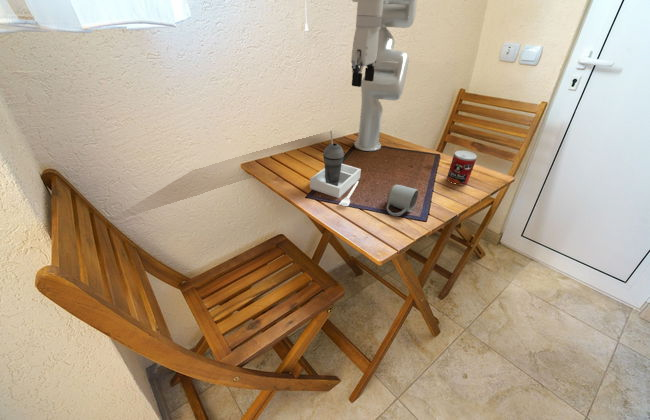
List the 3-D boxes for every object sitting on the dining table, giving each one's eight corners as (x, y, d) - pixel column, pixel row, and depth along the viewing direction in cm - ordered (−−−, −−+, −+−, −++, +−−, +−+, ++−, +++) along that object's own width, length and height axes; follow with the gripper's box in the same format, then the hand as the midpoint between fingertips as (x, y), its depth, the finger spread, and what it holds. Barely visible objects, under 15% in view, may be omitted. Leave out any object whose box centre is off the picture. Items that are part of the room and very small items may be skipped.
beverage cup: (340, 190, 101) (344, 136, 90) (320, 188, 102) (321, 134, 91) (343, 180, 107) (347, 128, 96) (324, 178, 108) (325, 126, 97)
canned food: (443, 180, 111) (451, 154, 104) (451, 173, 116) (459, 148, 109) (462, 188, 107) (472, 161, 100) (470, 180, 112) (480, 154, 105)
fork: (362, 183, 109) (362, 179, 108) (345, 210, 93) (346, 206, 92) (353, 182, 110) (354, 177, 109) (336, 208, 94) (336, 203, 93)
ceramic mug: (393, 197, 100) (397, 178, 95) (416, 205, 96) (420, 186, 92) (380, 212, 93) (383, 192, 88) (403, 221, 89) (408, 201, 85)
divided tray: (333, 170, 116) (333, 161, 113) (359, 178, 111) (361, 169, 108) (309, 188, 104) (309, 178, 101) (338, 198, 99) (339, 188, 96)
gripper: (368, 21, 94) (363, 77, 104) (344, 23, 82) (340, 86, 92) (390, 22, 91) (382, 80, 101) (368, 24, 79) (361, 90, 89)
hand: (362, 83), depth 96 cm, fingers open, 9 cm apart
